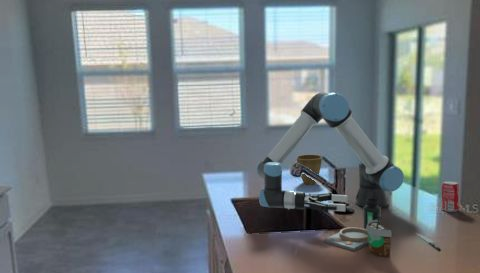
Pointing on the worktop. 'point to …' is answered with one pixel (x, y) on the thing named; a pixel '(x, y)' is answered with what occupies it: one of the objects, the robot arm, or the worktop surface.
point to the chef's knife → (428, 241)
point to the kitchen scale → (349, 238)
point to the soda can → (450, 196)
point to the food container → (378, 239)
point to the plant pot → (310, 166)
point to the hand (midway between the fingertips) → (346, 203)
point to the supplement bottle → (371, 212)
